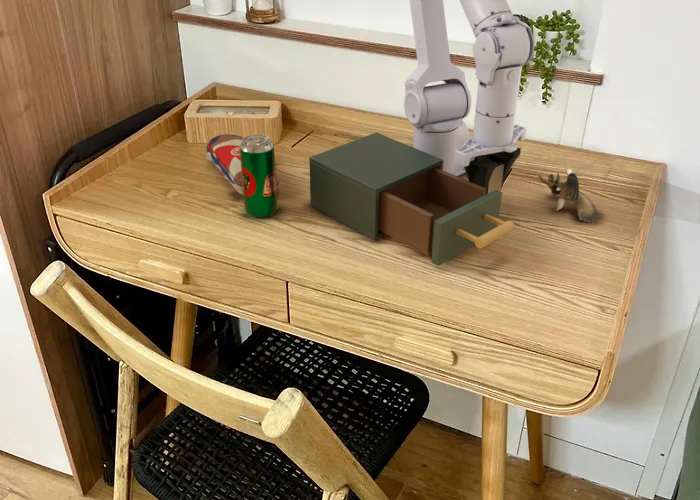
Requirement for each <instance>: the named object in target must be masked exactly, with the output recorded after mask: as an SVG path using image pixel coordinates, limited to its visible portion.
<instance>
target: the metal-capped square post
mask: <svg viewBox="0 0 700 500" xmlns="http://www.w3.org/2000/svg"><path fill="white" fill-rule="evenodd" d="M487 157H489V160H490V161H493V162H495V163H497V164H498V165H497V166H496V168H495V169H494V171H493V173H492V175H491V178H490V181H489V185H488V190H487V194H488V193H490V192H492V191H494V190H498V191H501V192H502V188H501V186H502V178H503V170H504V164H505V163H506V160H503V159H500V158H498V157H495V156H493V155H490V154H487ZM502 187H503V186H502Z"/></svg>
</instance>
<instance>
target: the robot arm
mask: <svg viewBox="0 0 700 500" xmlns="http://www.w3.org/2000/svg"><path fill="white" fill-rule="evenodd" d="M459 2H460V5H461V7H462V9H463V12H464V14H465V17H466V18H467V20H468V23H469V26H470V29H471V30H472V32H473V35H474V38H475V40H474V41H475V42H474V43H472V54H473V58H474V63H475V76H476V77H475V78H476V80H478V83H477V94H476V103H475V112H474V123H473V131H472V135H471V136H470V131H469V128H468V125H467V124H466V122H465V121H464V120H463V119H465V118H467V117H468V115H469V113H470V112H471V109H472V104H473V103H472V93H471V92H470V88H469V87H468V84H467V80H466V74H465V72H464V71H463V70H462V69H460V68H459V67H458V66H456V65H455V64H453V63H452V62H451V56H450V47H449V40H448V39H449V38H448V31H447V30H448V29H447V22H446V21H447V20H446V14H445V5H444V0H409V5H410V13H411V21H412V22H411V23H412V29H413V36H414V44H415V45H414V46H415V52H416V60H417V68H416V69H415V70H414V71H413V72H412V73H411V74H410V75H409V76H408V78H406V80H405V81H404V101H403V108H404V113H405V117H406V118H407V120H408V122H409V123H410V125H412V126H413V142H412V143H413V144H412V147H413V148H416V149H418V150H421V151H423V152H425V153H428V154H430V155H433V156H435V157H438V158H440V159H442V160H443V171H446V172H448V173H450V174H453V175H455V176H457V177H459V176H460V175H463V174H465V173H466V176H467V181H469V182H472V183H474V184H476V185H479V186H481V187H483V188H486V194H487V190H488V185H489V181H490V178H491V175H492V173H493V171H494V169H495V168H496V166H497V165H498V164H497V163H495V162H493V161H490V160H489V157H487V154H490V155H493V156H495V157H498V158H500V159H503V160H506V163H505V164H504V170H503V178H502V186H501V189H502V188H503V186H504V184H505V181H506V178H507V176H508V174H509V172H510V170H511V168H512V166H513V165H514V164H515V162H516V160H517V159H518V158H519V157H520V156H521V152H522V149H521V148H520V147H518V144H517V143H516V142H517V141H519V142H522V141H524V140H526V134H527V127H525V126H522V125H519V124H515V122H516V121H515V120H516V115H517V114H516V113H517V106H518V98H519V93H520V92H519V91H520V85H521V77H522V69H523V66H525V65H527V64H528V63H529V62H530V61H531V60H532V57H533V55H534V52H535V51H534V50H535V40H534V35H533V33H532V29H531V27H530V25H528V24H527V23H526V22H523V21H521V19H520V17H519V16H517V15H516V16H515V15H514V14H513V12H512V10H511V8H510V6H509V3H508V0H459ZM436 82H444V83H438V84H433V85H428V84H430V83H436ZM426 85H427V86H426Z"/></svg>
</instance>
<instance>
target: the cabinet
mask: <svg viewBox="0 0 700 500" xmlns="http://www.w3.org/2000/svg"><path fill="white" fill-rule="evenodd" d="M308 158H309V159H308V161H309V194H310V195H309V196H310V197H309V199H310V207H312V208H314V209H315V210H318V211H319V212H322V213H323V214H325V215H327V216H329V217H331V218H332V219H333V220H336V221H338V222H340V223H342V224H343V225H345V226H347V227H348V228H351V229H353V230H354V231H356V232H358V233H360V234H361V235H364V236H366V237H367V238H369V239H370V240H373V241H377V240H379V239H381V238H383V237H385V236H388V235H387V234H385V233H383V232H381V231H379V230H378V220H379V192H381V191H383V190H385V189H388V188H390V187H392V186H394V185H397V184H399V183H401V182H403V181H406V180H408V179H410V178H412V177H415V176H417V175H419V174H421V173H424V172H426V171H428V170H430V169H433V168H435V167H436V168H439V169H441V170H443V160H442V159H440V158H438V157H435V156H433V155H430V154H428V153H425V152H423V151H421V150H418V149H416V148H413V146H411V145H408V144H406V143H403V142H401V141H398V140H397V139H394V138H391V137H389V136H386V135H384V134H381V133H379V132H373V133H371V134H368V135H365V136H362V137H360V138H357V139H355V140H352V141H349V142H347V143H344V144H341V145H339V146H336V147H333V148H330V149H328V150H326V151H323V152H319V153H317V154H314V155H312V156H309V157H308Z"/></svg>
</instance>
